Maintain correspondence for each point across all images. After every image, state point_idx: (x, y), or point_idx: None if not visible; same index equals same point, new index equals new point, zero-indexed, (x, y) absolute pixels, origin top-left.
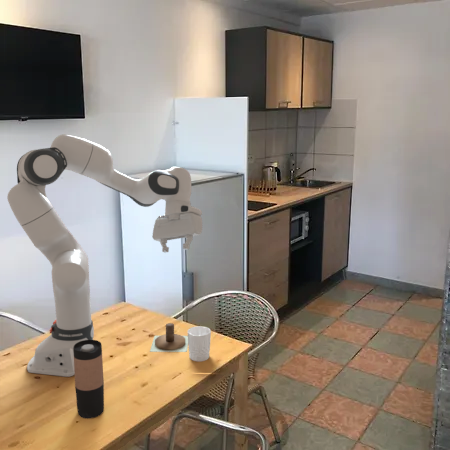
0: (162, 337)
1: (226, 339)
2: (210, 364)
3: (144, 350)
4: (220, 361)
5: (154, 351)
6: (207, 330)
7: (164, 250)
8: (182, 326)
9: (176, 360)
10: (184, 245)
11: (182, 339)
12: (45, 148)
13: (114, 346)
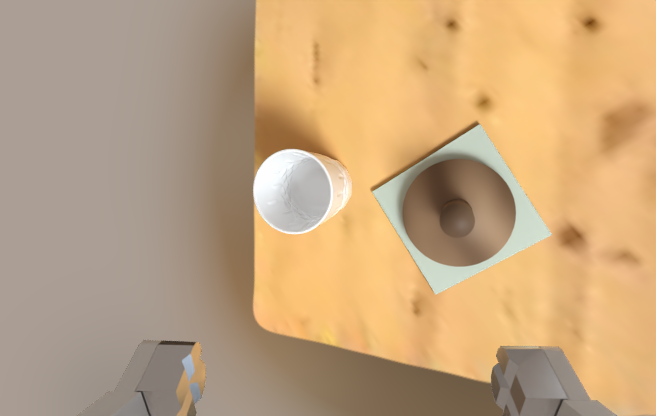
0: (497, 217)
1: (324, 333)
2: None
3: (509, 127)
4: None
5: (465, 133)
6: (285, 227)
7: (519, 349)
8: None
9: (371, 134)
10: (157, 367)
11: (423, 241)
12: None
13: (641, 85)
